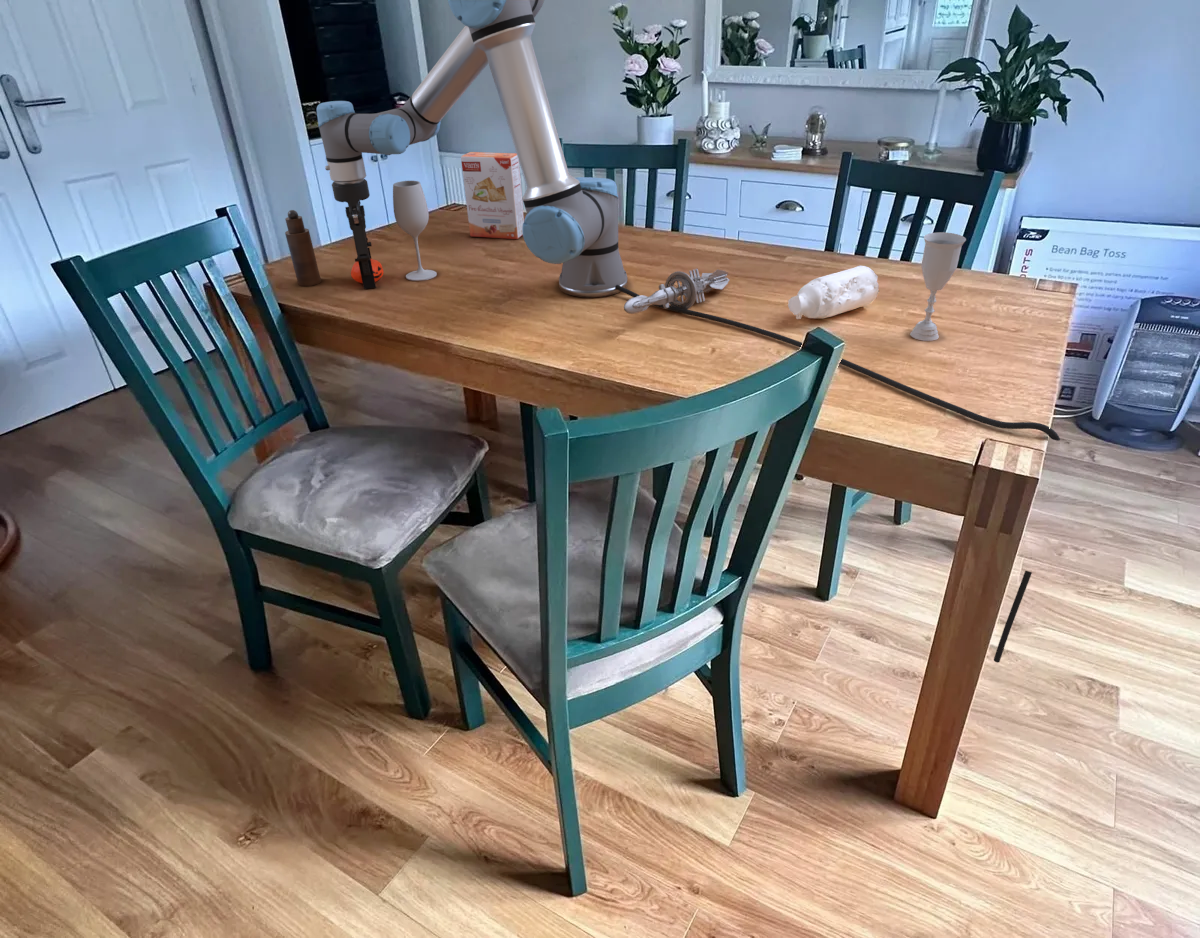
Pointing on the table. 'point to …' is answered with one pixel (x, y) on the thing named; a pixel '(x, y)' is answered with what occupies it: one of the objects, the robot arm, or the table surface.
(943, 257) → the chalice
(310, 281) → the pepper mill
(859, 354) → the table surface
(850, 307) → the white bottle
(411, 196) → the wineglass
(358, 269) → the pumpkin
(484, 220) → the cracker box
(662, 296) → the spaceship
